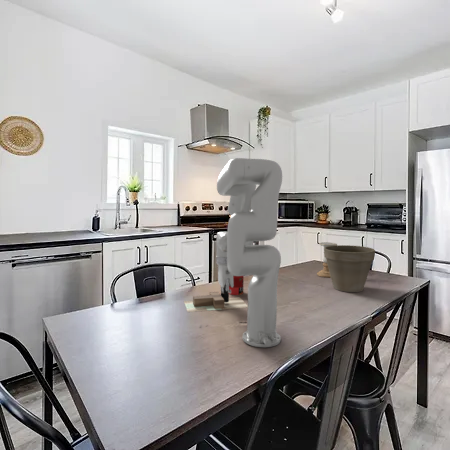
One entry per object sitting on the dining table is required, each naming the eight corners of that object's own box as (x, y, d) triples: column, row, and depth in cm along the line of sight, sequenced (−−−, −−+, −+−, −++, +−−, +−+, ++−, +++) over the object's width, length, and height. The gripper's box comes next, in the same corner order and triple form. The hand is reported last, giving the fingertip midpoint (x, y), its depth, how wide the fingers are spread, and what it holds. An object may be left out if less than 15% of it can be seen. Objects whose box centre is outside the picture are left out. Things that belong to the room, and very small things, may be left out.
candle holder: (312, 274, 201) (313, 242, 200) (329, 272, 205) (330, 241, 203) (324, 278, 190) (325, 245, 188) (341, 277, 193) (343, 244, 192)
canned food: (242, 297, 151) (242, 275, 150) (225, 296, 152) (225, 274, 151) (244, 293, 158) (244, 271, 157) (228, 292, 160) (228, 270, 159)
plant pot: (324, 293, 159) (325, 250, 157) (321, 281, 183) (322, 244, 181) (378, 297, 153) (380, 252, 151) (368, 284, 177) (369, 245, 175)
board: (249, 310, 134) (249, 307, 134) (187, 314, 128) (187, 312, 127) (239, 299, 147) (239, 297, 147) (183, 303, 141) (183, 301, 141)
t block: (224, 308, 132) (224, 299, 132) (195, 310, 130) (195, 301, 129) (218, 299, 144) (218, 291, 144) (191, 301, 141) (191, 293, 141)
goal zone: (221, 312, 131) (221, 309, 131) (187, 314, 128) (187, 312, 127) (214, 301, 144) (214, 299, 144) (183, 303, 141) (183, 301, 141)
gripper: (238, 263, 131) (237, 306, 132) (229, 256, 145) (228, 296, 146) (220, 264, 129) (219, 308, 130) (213, 257, 143) (212, 297, 145)
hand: (224, 301), depth 138 cm, fingers closed
